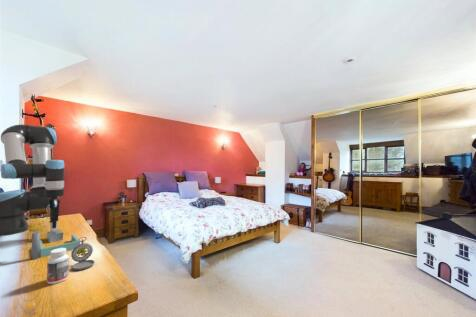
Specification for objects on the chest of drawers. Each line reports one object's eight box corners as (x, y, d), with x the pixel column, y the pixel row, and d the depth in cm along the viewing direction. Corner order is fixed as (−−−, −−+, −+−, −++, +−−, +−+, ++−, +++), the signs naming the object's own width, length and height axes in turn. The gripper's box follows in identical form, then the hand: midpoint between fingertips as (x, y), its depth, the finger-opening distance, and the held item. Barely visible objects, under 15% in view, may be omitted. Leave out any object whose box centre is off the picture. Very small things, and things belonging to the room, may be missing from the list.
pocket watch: (82, 272, 73) (83, 243, 74) (63, 269, 75) (64, 241, 75) (102, 261, 81) (102, 235, 82) (84, 259, 83) (84, 234, 83)
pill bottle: (42, 282, 67) (43, 251, 67) (62, 274, 72) (62, 245, 72) (53, 286, 65) (53, 254, 65) (72, 277, 70) (72, 248, 70)
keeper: (29, 249, 93) (30, 227, 93) (73, 240, 104) (74, 220, 105) (31, 260, 83) (32, 234, 83) (80, 248, 94) (80, 226, 94)
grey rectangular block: (47, 239, 106) (47, 232, 106) (59, 237, 109) (60, 229, 109) (49, 243, 101) (49, 235, 101) (62, 240, 105) (63, 232, 105)
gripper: (43, 188, 111) (42, 233, 110) (46, 190, 102) (45, 238, 101) (62, 187, 117) (61, 229, 116) (65, 189, 108) (64, 234, 107)
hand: (53, 233), depth 109 cm, fingers closed
